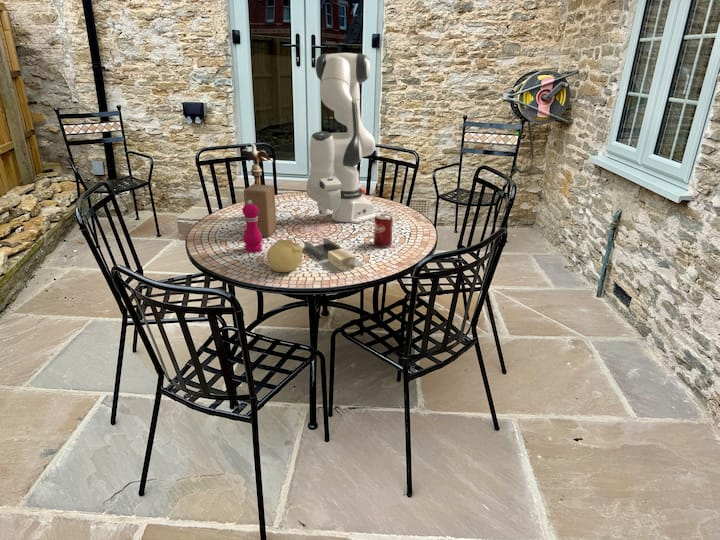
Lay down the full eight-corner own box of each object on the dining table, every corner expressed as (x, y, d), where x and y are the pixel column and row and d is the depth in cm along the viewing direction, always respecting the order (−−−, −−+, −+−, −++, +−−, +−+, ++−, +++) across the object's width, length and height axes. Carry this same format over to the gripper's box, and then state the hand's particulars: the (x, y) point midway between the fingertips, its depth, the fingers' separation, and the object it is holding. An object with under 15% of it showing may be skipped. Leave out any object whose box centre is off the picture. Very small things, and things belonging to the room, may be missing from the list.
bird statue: (253, 209, 235) (247, 136, 221) (278, 211, 233) (274, 137, 219) (239, 220, 220) (232, 142, 206) (266, 222, 218) (261, 143, 204)
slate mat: (349, 256, 184) (349, 254, 183) (363, 265, 176) (363, 263, 176) (316, 263, 177) (316, 261, 176) (329, 273, 169) (329, 271, 169)
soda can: (379, 249, 191) (380, 220, 186) (370, 243, 197) (371, 214, 192) (394, 246, 194) (396, 217, 189) (385, 240, 200) (387, 212, 195)
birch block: (342, 258, 180) (342, 248, 178) (354, 266, 173) (354, 256, 171) (328, 261, 177) (327, 251, 175) (340, 270, 170) (340, 259, 169)
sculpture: (308, 268, 172) (307, 240, 168) (281, 278, 164) (279, 249, 160) (288, 259, 180) (287, 232, 175) (261, 268, 172) (259, 240, 167)
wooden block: (269, 238, 200) (265, 191, 192) (246, 236, 202) (242, 189, 193) (277, 230, 209) (274, 185, 201) (255, 228, 211) (252, 183, 202)
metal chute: (326, 245, 194) (325, 237, 192) (343, 256, 183) (343, 249, 182) (304, 249, 189) (304, 242, 188) (321, 261, 178) (321, 254, 177)
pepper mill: (242, 247, 190) (238, 198, 182) (260, 245, 192) (257, 196, 184) (246, 254, 184) (241, 203, 176) (264, 251, 186) (261, 201, 178)
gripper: (301, 172, 180) (302, 207, 186) (327, 187, 165) (328, 224, 171) (316, 170, 183) (317, 205, 189) (343, 184, 168) (343, 221, 174)
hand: (322, 214), depth 180 cm, fingers closed
